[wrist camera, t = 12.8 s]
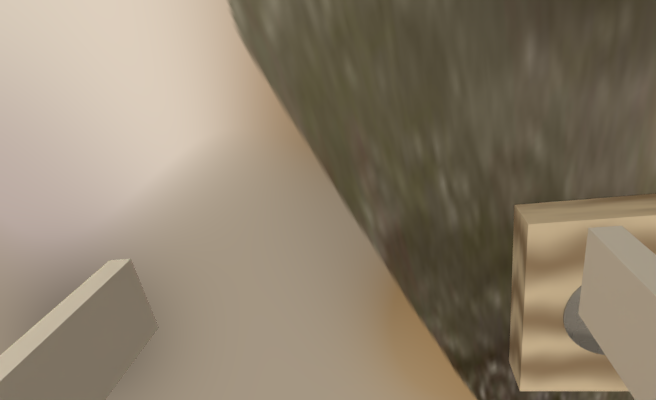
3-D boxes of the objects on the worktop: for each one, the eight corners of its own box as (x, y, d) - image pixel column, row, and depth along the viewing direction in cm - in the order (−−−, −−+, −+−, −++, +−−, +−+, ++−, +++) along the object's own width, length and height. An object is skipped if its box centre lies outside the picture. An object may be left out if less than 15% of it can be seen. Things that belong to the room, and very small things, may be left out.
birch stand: (514, 204, 38) (528, 225, 34) (720, 188, 35) (761, 208, 31) (509, 361, 46) (520, 392, 42) (677, 359, 42) (705, 392, 39)
